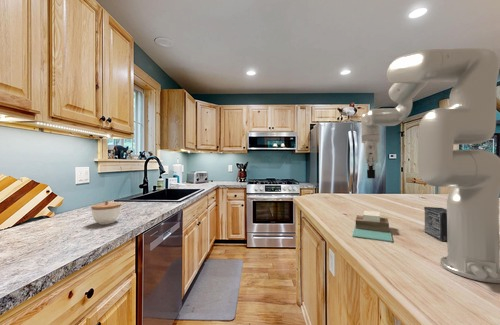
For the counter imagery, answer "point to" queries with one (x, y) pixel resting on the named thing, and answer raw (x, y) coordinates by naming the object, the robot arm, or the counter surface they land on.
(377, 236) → the teal mat
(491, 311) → the counter surface
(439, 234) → the small box
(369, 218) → the cream tile
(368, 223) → the walnut riser
